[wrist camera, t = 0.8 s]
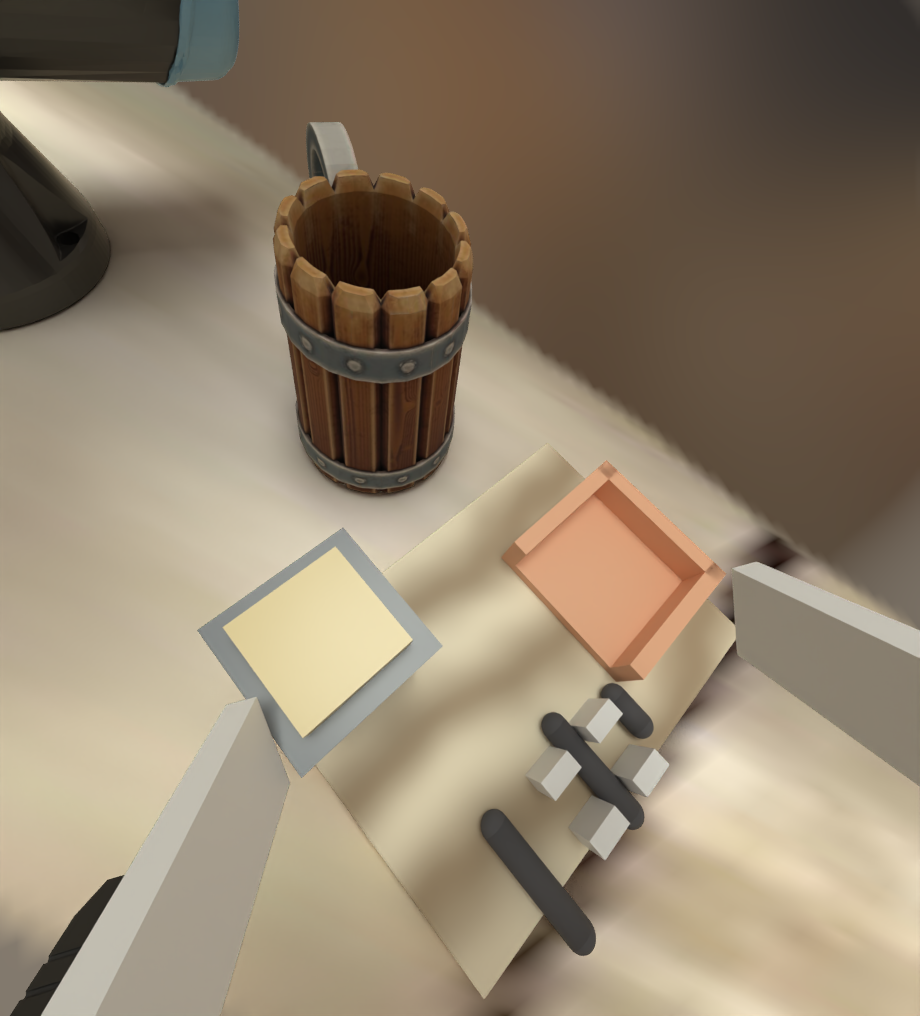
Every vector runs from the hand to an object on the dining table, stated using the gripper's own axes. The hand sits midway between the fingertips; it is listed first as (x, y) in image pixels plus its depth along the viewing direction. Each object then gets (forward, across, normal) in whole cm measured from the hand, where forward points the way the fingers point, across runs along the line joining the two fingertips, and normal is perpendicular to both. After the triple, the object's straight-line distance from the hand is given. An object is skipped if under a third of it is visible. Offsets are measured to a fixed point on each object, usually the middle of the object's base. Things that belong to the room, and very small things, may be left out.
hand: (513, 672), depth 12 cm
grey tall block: (+12, -7, -5) cm, 15 cm away
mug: (+24, -4, +8) cm, 25 cm away
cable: (+8, +3, -14) cm, 17 cm away
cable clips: (+9, +4, -13) cm, 16 cm away
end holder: (+15, +9, -6) cm, 19 cm away
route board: (+13, +2, -8) cm, 16 cm away
